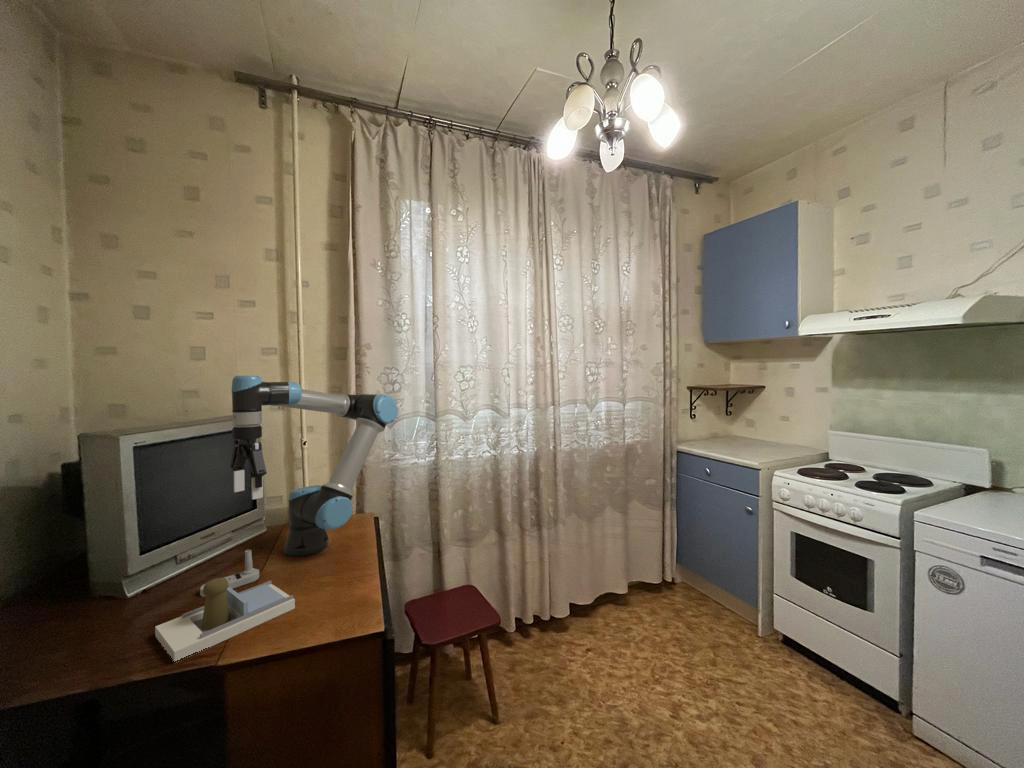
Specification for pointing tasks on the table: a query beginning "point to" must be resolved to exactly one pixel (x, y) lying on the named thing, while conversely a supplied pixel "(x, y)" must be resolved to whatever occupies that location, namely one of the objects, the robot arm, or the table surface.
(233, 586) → the electronic device
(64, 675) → the table surface
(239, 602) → the panel
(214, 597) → the cork
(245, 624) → the socket plate
